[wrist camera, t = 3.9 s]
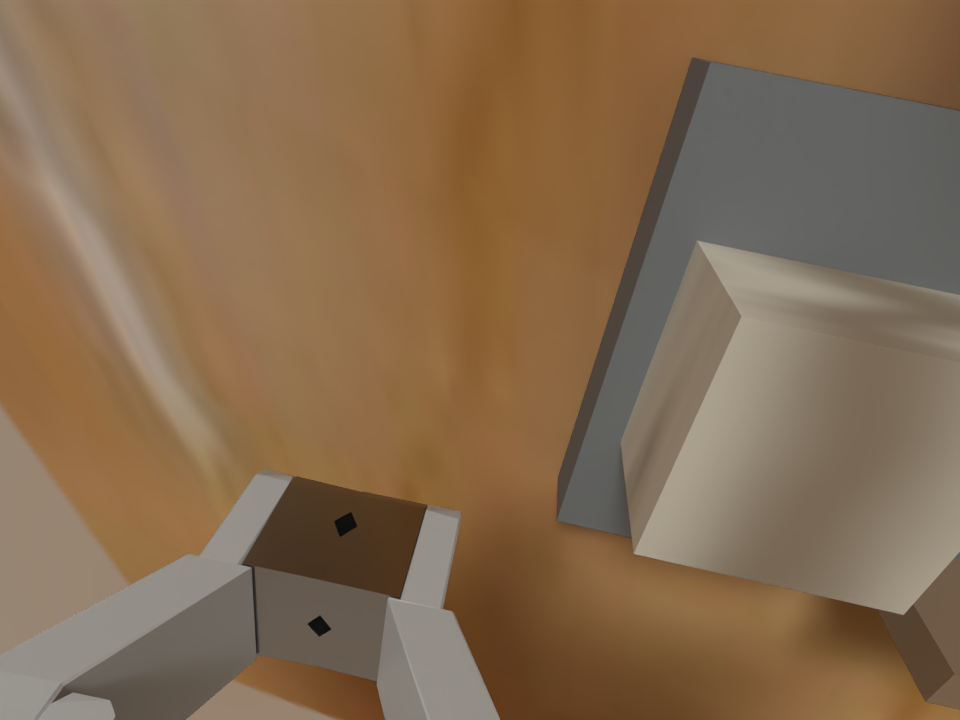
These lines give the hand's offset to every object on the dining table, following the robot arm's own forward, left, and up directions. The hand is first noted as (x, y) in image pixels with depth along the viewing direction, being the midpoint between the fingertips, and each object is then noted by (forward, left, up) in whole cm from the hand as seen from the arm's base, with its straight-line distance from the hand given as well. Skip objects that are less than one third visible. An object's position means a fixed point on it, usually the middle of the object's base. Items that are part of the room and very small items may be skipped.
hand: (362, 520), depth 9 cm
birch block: (-8, 0, -7) cm, 11 cm away
